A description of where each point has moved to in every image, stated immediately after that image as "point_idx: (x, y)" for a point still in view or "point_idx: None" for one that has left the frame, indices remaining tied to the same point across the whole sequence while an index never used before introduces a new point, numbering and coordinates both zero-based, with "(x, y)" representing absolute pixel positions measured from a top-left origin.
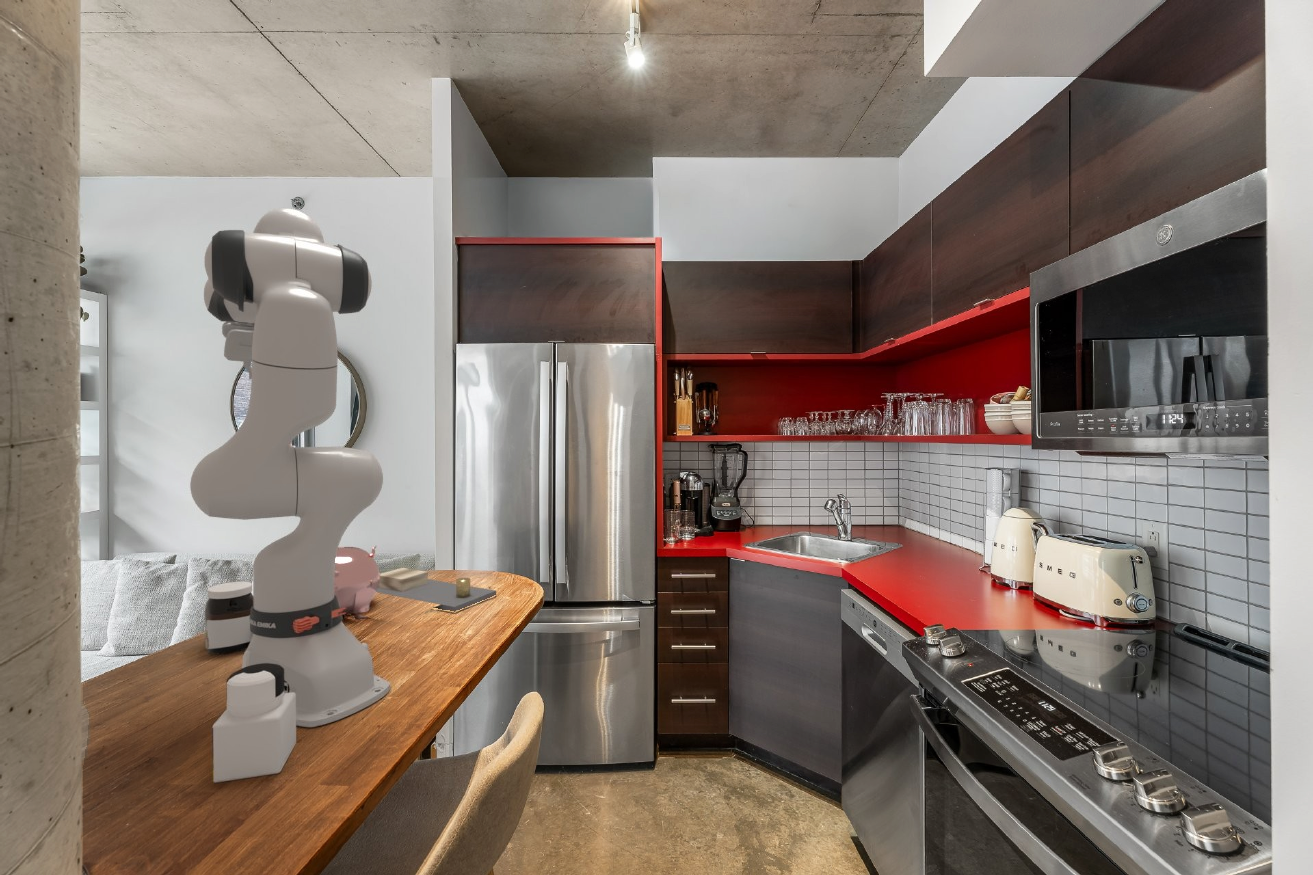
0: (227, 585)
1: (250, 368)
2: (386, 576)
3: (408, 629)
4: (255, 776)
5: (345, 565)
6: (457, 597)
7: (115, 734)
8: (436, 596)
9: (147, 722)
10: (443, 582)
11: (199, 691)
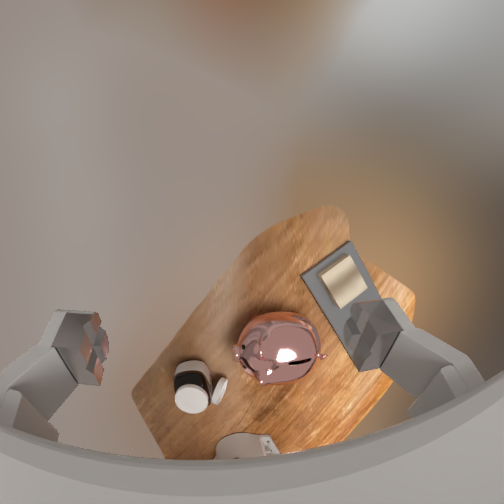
0: (188, 396)
1: (52, 390)
2: (329, 288)
3: (317, 389)
4: None
5: (289, 383)
6: None
7: (168, 455)
8: None
9: (177, 452)
10: (374, 288)
11: (192, 433)
